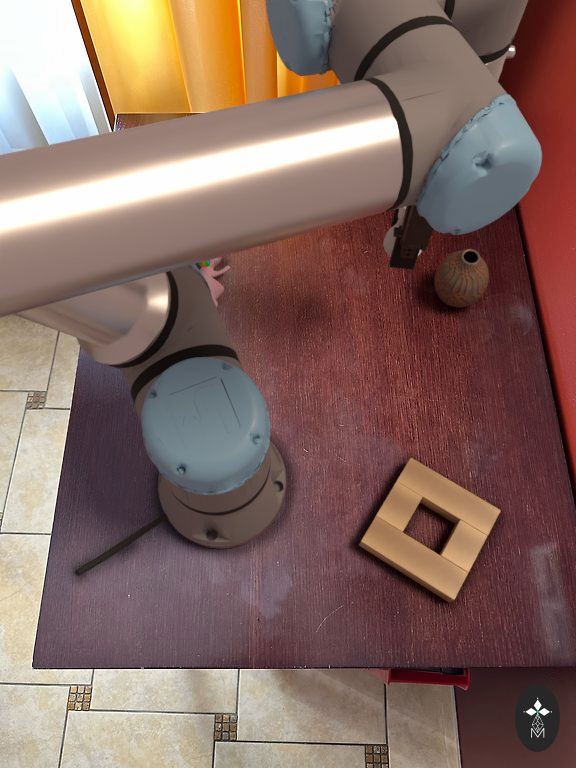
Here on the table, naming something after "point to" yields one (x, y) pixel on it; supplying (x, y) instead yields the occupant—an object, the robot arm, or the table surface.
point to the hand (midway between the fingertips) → (402, 246)
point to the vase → (461, 278)
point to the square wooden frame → (412, 556)
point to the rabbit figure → (209, 273)
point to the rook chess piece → (389, 238)
